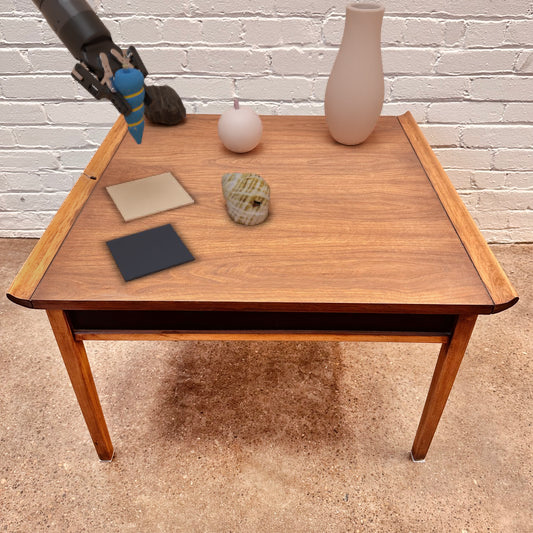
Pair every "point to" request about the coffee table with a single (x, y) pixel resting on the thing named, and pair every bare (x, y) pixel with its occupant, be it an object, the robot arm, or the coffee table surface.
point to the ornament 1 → (132, 98)
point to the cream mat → (148, 196)
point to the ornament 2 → (240, 128)
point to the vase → (356, 76)
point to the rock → (165, 106)
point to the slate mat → (148, 252)
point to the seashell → (246, 197)
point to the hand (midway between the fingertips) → (140, 108)
